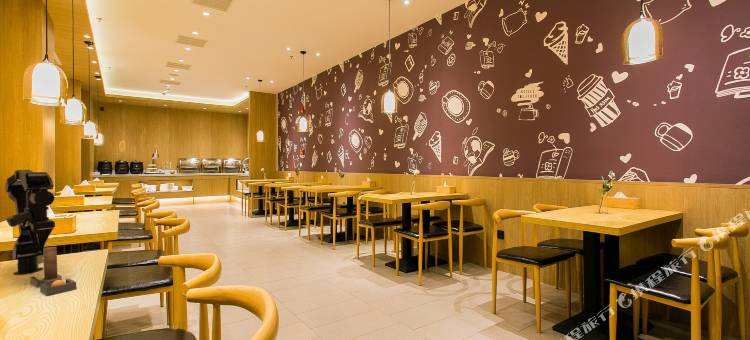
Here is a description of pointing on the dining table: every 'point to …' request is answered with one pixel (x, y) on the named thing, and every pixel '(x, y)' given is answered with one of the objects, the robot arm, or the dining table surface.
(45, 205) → the robot arm
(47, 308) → the dining table surface
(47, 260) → the slider
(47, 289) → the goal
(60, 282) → the ball
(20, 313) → the dining table surface
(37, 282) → the track
